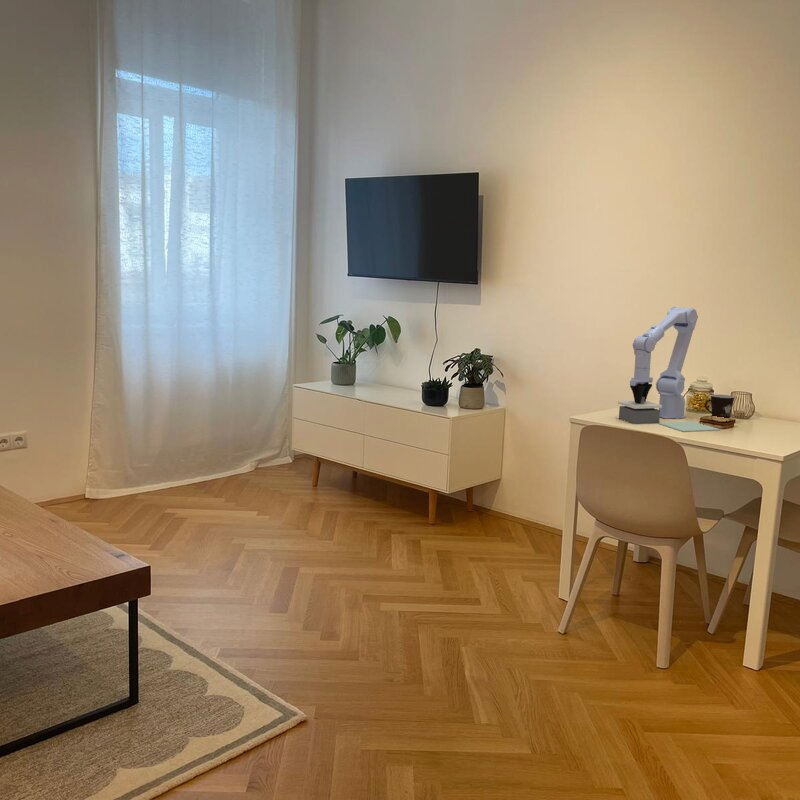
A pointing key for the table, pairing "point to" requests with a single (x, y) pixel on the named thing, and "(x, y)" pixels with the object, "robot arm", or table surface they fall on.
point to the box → (639, 415)
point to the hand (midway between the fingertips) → (640, 402)
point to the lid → (640, 404)
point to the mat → (689, 426)
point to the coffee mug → (721, 405)
